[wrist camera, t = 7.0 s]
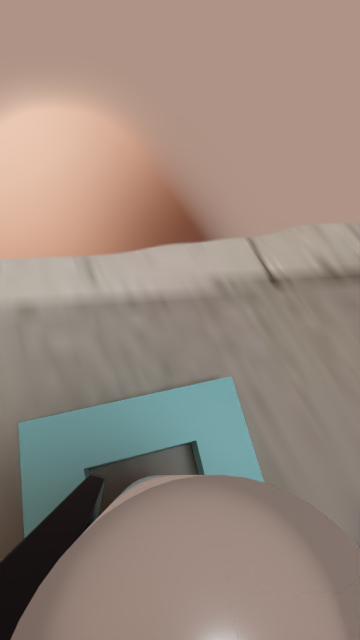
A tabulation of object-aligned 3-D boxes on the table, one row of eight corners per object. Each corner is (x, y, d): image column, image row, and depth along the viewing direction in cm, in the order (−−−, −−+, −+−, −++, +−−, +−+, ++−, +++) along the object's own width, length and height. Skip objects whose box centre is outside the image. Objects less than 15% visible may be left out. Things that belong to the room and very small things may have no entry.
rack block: (47, 702, 15) (34, 734, 13) (29, 427, 19) (18, 422, 18) (290, 609, 17) (308, 625, 15) (223, 384, 22) (231, 376, 20)
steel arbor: (150, 608, 13) (238, 1590, 2) (89, 524, 14) (-137, 747, 3) (219, 527, 15) (530, 730, 3) (159, 455, 16) (220, 399, 4)
